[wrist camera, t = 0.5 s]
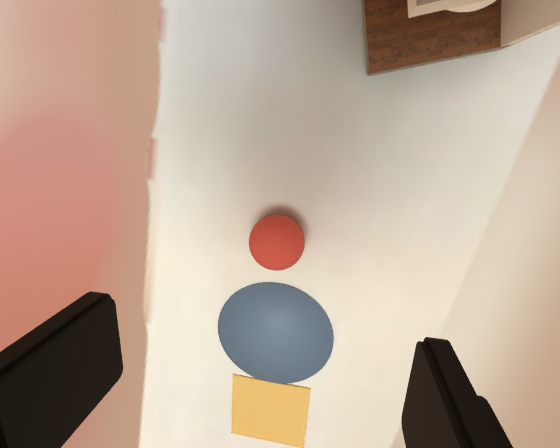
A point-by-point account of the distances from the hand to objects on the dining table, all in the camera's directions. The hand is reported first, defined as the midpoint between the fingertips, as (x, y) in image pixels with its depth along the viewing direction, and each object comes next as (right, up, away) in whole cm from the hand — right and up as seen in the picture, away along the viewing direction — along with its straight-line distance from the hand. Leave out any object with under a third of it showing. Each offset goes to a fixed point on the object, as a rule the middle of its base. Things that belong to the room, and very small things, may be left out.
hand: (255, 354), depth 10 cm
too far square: (-1, -21, +33) cm, 39 cm away
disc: (0, -9, +29) cm, 31 cm away
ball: (0, +2, +22) cm, 23 cm away
